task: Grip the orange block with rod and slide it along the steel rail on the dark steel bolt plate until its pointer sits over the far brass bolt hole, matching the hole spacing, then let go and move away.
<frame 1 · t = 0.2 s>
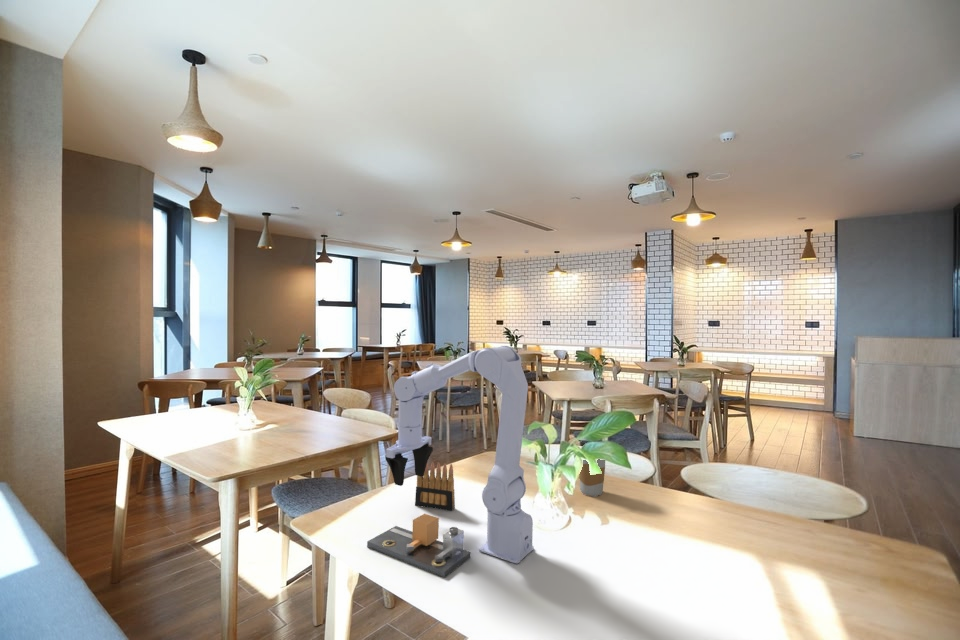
hand: (409, 480, 113), 10 cm above the table, tool pointing down, fingers open, 7 cm apart
orange block with rod: (419, 532, 98), point 4 cm above the table, slide at 0.0 cm
coffee cup: (591, 493, 133), on the table
bolt plate: (417, 552, 98), on the table
ammunition clip: (434, 507, 121), on the table
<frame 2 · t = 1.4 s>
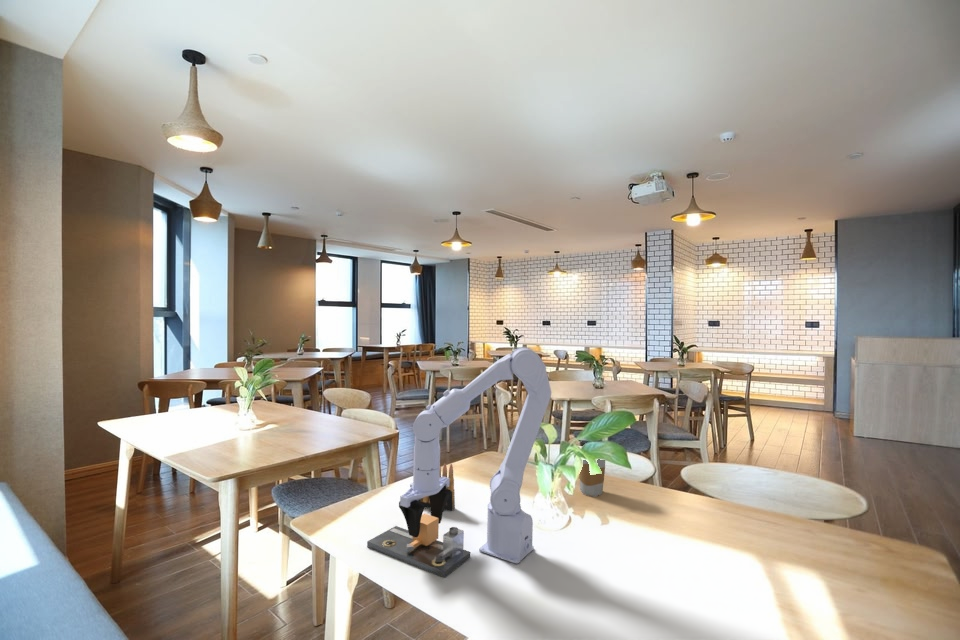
hand: (425, 528, 100), 4 cm above the table, tool pointing down, fingers open, 7 cm apart
nothing on the table moved.
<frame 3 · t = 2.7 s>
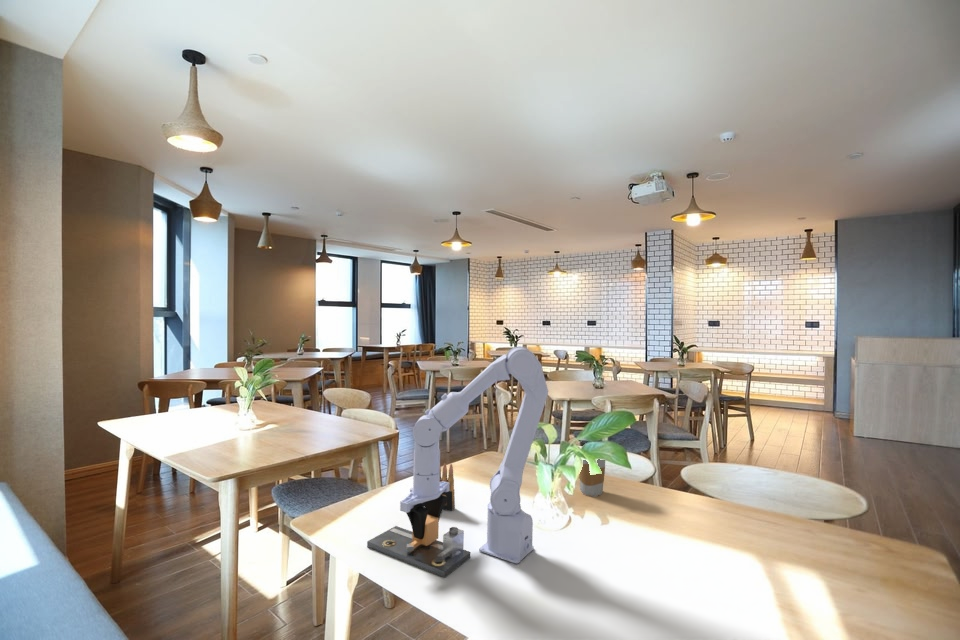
hand: (425, 533, 100), 3 cm above the table, tool pointing down, fingers closed on orange block with rod, 4 cm apart
orange block with rod: (419, 532, 98), point 4 cm above the table, slide at 0.0 cm, touching gripper
everything else where it was.
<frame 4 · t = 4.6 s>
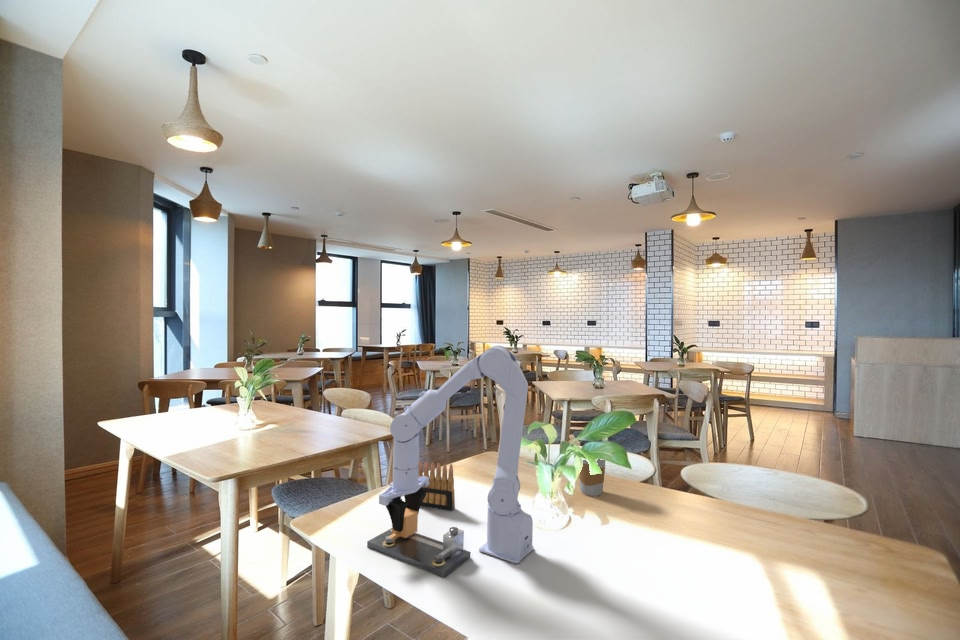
hand: (404, 526, 103), 3 cm above the table, tool pointing down, fingers closed on orange block with rod, 4 cm apart
orange block with rod: (398, 525, 101), point 4 cm above the table, slide at 6.0 cm, touching gripper
everything else where it was.
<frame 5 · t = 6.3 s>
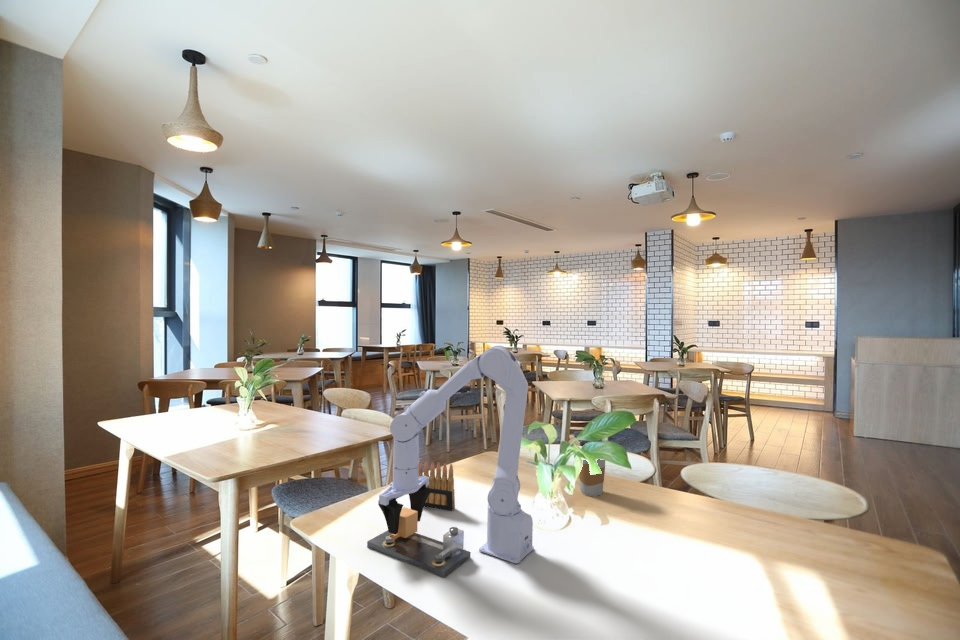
hand: (404, 526, 103), 3 cm above the table, tool pointing down, fingers open, 7 cm apart
orange block with rod: (398, 525, 101), point 4 cm above the table, slide at 6.0 cm
everything else where it was.
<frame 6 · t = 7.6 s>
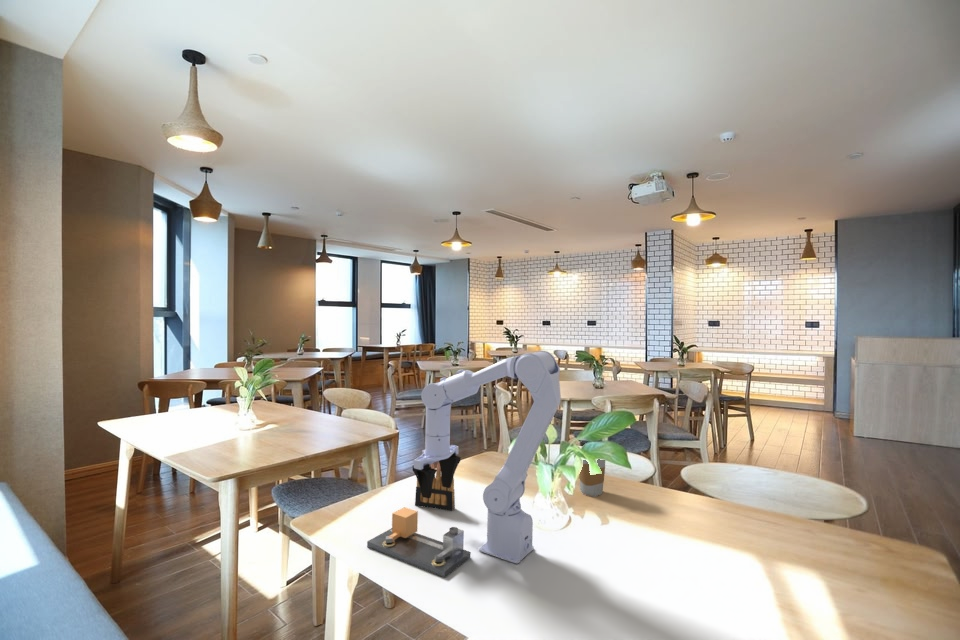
hand: (436, 491, 107), 9 cm above the table, tool pointing down, fingers open, 7 cm apart
nothing on the table moved.
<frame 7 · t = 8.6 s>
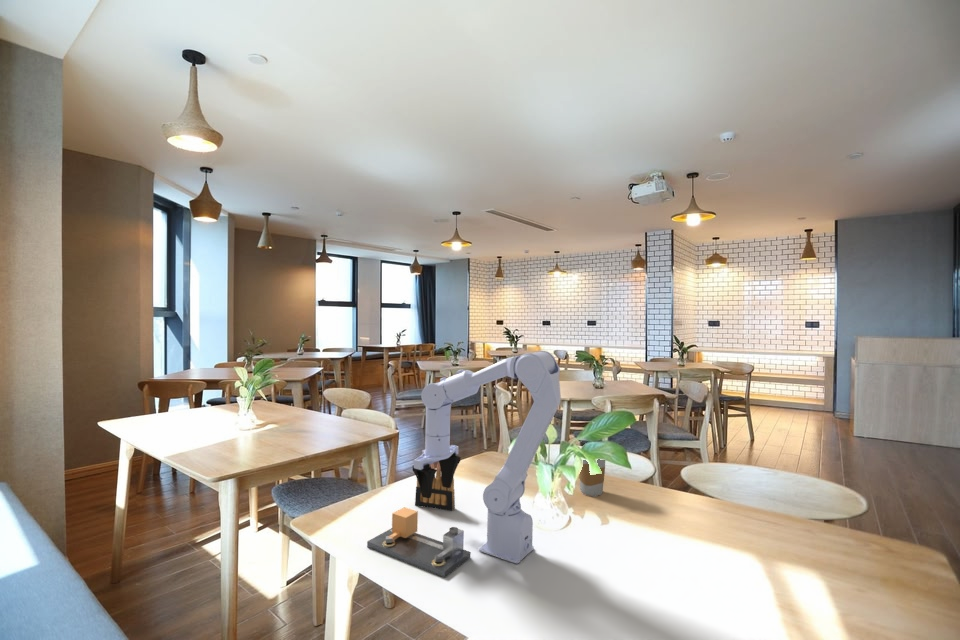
hand: (436, 491, 107), 9 cm above the table, tool pointing down, fingers open, 7 cm apart
nothing on the table moved.
at the end: orange block with rod slide at 6.0 cm; the gripper is holding nothing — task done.
